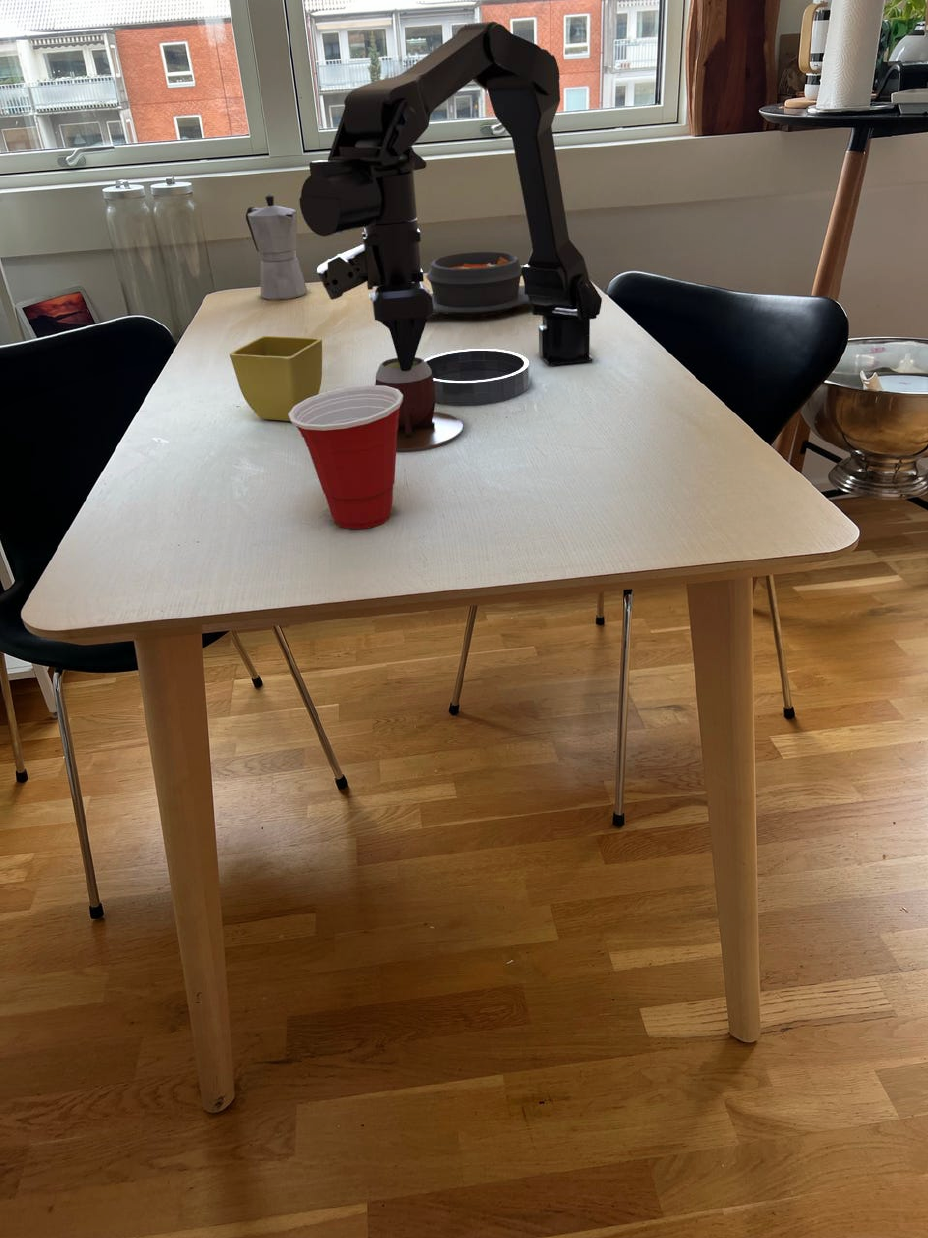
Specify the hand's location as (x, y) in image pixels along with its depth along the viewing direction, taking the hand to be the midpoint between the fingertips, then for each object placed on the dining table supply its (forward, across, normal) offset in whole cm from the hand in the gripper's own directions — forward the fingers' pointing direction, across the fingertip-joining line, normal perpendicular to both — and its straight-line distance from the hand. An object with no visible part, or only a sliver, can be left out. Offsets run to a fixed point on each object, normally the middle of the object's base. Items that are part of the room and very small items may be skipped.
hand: (404, 363), depth 109 cm
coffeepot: (+9, -86, -18) cm, 88 cm away
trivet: (+8, 0, 0) cm, 8 cm away
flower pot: (+8, -11, -15) cm, 20 cm away
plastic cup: (+8, +23, -7) cm, 26 cm away
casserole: (+9, -58, +17) cm, 61 cm away
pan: (+8, -15, +10) cm, 20 cm away
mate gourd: (+8, 0, 0) cm, 8 cm away
